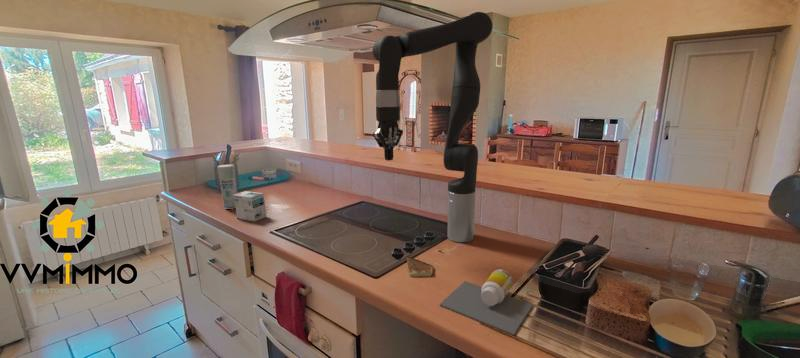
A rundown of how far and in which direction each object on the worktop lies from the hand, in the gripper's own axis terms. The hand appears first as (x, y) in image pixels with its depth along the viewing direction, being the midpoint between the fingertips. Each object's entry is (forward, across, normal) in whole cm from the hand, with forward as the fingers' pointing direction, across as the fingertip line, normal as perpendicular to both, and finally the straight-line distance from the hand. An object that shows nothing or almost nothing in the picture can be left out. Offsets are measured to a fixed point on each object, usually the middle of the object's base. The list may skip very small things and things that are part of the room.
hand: (389, 160), depth 111 cm
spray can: (+29, +11, -86) cm, 92 cm away
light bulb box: (+30, +14, -65) cm, 73 cm away
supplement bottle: (+26, +5, +41) cm, 49 cm away
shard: (+30, +10, +17) cm, 36 cm away
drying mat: (+29, +14, +41) cm, 52 cm away
